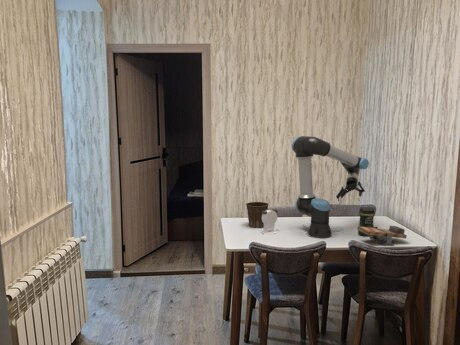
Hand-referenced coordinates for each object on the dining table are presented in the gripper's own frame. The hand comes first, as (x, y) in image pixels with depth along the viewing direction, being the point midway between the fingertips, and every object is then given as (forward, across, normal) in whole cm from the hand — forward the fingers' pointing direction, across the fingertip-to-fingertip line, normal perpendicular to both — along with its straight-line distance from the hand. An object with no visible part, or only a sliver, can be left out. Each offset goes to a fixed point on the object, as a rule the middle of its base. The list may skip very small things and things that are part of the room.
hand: (348, 202), depth 257 cm
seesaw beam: (+20, -17, -13) cm, 30 cm away
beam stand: (+24, -15, -18) cm, 33 cm away
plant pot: (+18, +61, +17) cm, 66 cm away
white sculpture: (+28, +46, +17) cm, 57 cm away
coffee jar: (+13, -3, -20) cm, 24 cm away
